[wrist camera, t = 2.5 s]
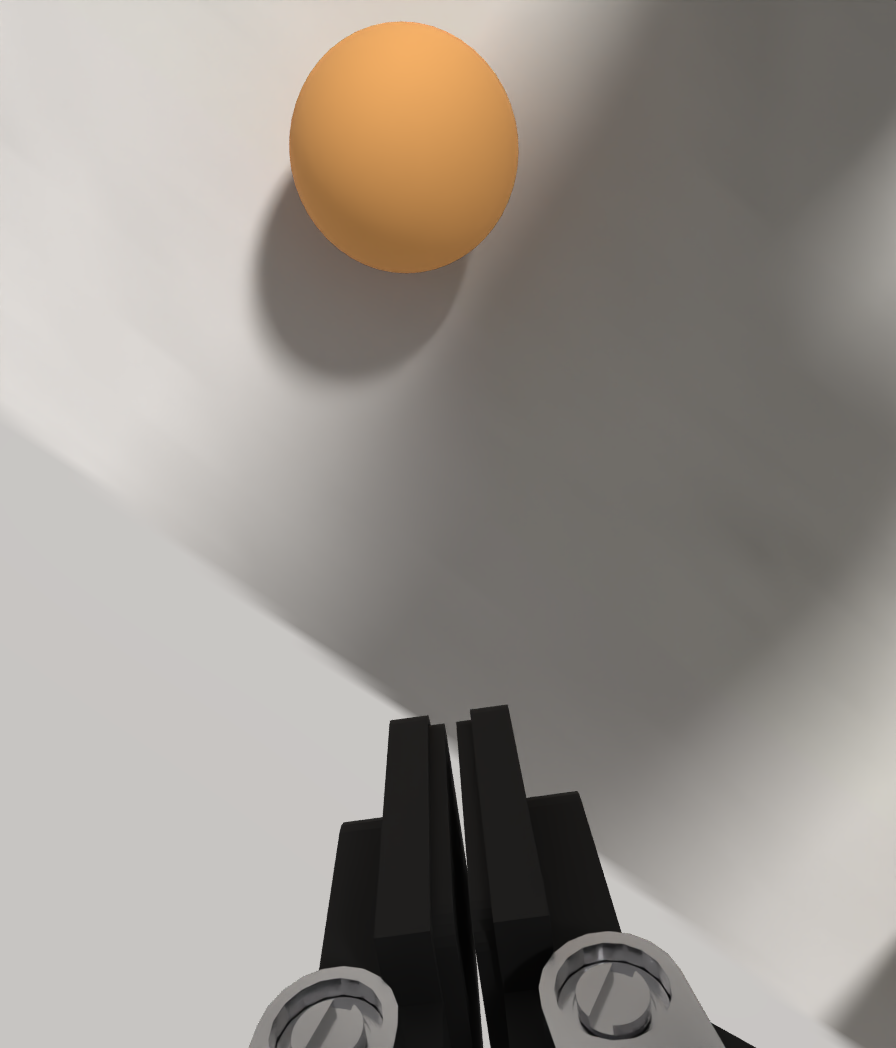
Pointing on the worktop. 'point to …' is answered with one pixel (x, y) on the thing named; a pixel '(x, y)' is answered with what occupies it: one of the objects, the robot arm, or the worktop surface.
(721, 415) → the worktop surface
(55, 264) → the worktop surface
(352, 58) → the ball
